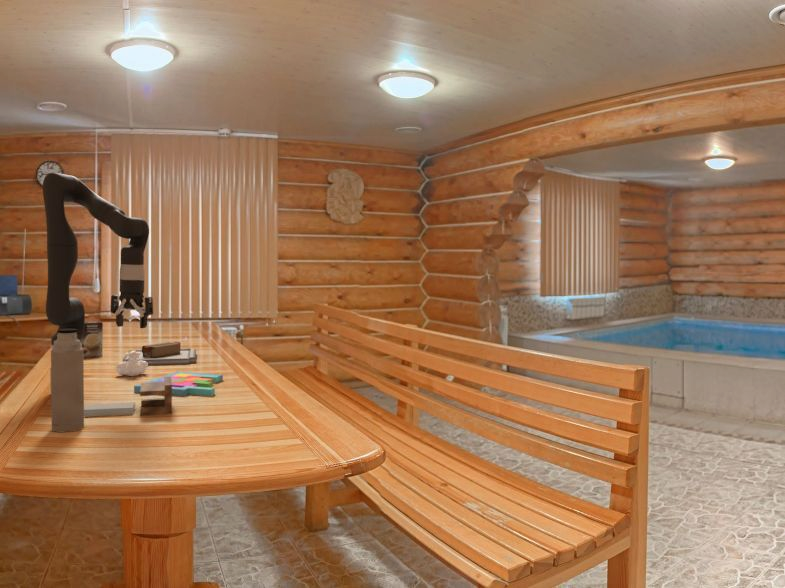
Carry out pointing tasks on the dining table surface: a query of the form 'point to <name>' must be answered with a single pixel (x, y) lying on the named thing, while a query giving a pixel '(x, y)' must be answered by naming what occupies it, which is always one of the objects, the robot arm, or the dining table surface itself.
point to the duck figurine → (132, 365)
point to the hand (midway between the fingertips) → (131, 327)
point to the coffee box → (92, 339)
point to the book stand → (165, 354)
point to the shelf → (156, 389)
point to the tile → (109, 409)
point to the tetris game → (189, 383)
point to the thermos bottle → (67, 382)
